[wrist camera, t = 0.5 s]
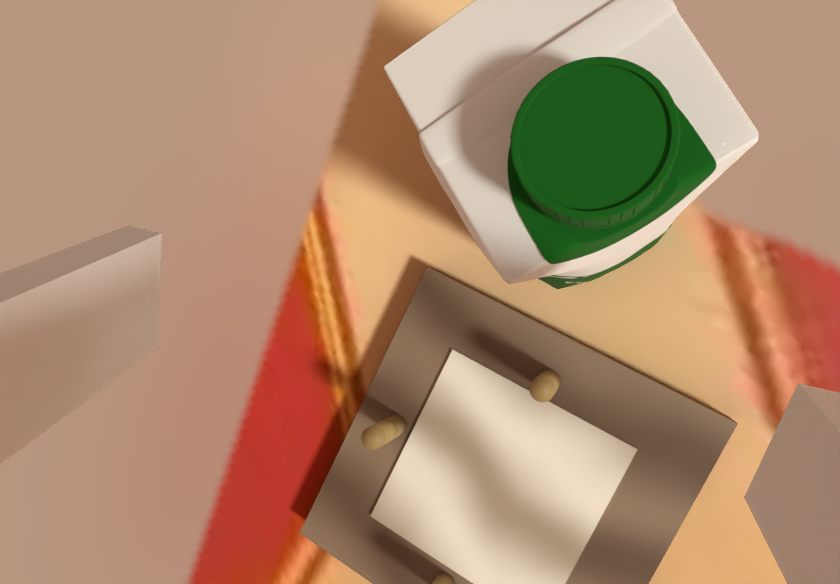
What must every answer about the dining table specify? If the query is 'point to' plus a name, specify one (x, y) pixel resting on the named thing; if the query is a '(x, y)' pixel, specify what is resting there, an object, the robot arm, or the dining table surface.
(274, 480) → the dining table surface
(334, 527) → the pin base plate
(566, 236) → the soya milk
